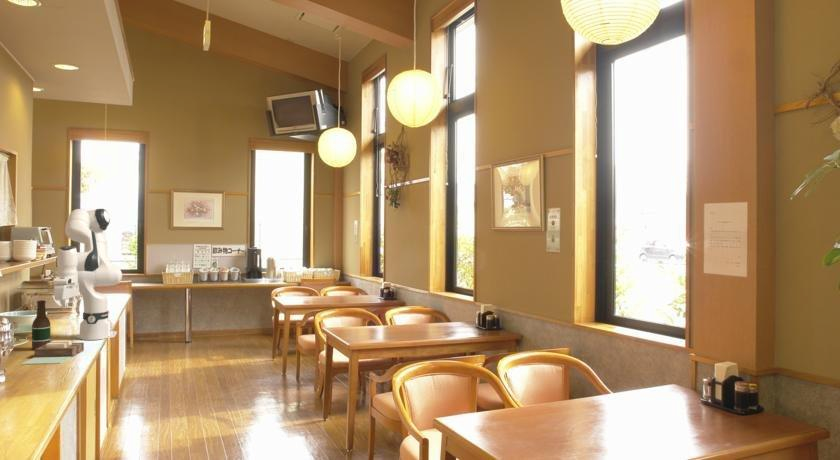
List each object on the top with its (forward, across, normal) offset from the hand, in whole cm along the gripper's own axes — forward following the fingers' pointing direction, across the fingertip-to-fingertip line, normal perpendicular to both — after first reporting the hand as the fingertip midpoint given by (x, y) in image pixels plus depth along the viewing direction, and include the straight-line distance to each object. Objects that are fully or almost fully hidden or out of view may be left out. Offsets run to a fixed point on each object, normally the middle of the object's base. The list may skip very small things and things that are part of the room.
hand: (67, 307), depth 290 cm
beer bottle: (+21, -6, -14) cm, 26 cm away
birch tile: (+17, +10, 0) cm, 20 cm away
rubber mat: (+21, +22, 0) cm, 31 cm away
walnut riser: (+21, +8, 0) cm, 23 cm away
